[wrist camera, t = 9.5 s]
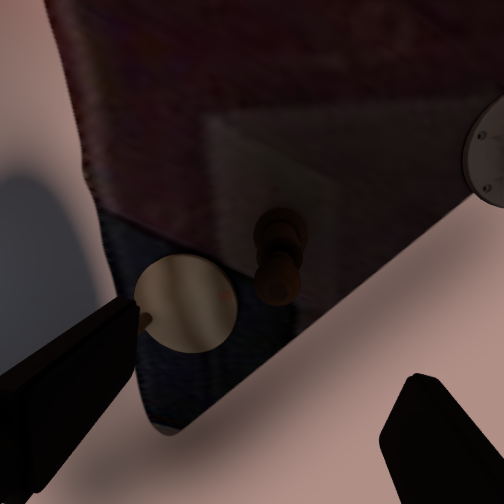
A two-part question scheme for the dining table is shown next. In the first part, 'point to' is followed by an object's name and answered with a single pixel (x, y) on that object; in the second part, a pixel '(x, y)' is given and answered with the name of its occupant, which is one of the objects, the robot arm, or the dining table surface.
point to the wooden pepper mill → (279, 256)
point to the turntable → (186, 303)
